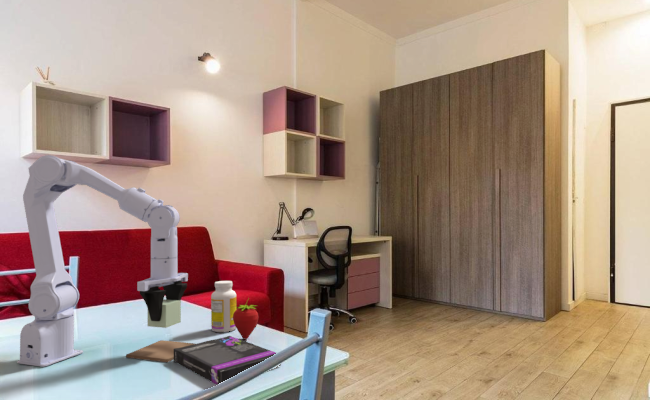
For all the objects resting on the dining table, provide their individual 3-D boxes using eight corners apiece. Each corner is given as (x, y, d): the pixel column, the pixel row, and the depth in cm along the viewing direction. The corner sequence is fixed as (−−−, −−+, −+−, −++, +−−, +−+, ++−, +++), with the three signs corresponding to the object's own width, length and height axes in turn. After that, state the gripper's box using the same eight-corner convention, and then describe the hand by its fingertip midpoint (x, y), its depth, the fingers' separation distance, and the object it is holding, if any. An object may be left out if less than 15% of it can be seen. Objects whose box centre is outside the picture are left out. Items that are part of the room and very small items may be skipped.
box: (281, 371, 84) (230, 348, 98) (281, 353, 84) (230, 333, 98) (219, 391, 74) (172, 362, 88) (219, 371, 75) (172, 345, 89)
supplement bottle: (234, 325, 117) (234, 279, 117) (238, 331, 111) (238, 282, 111) (209, 328, 114) (209, 281, 115) (213, 334, 108) (212, 284, 109)
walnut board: (167, 362, 88) (167, 359, 88) (126, 357, 91) (126, 354, 91) (199, 346, 98) (199, 344, 98) (161, 342, 101) (161, 340, 101)
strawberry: (248, 333, 108) (248, 294, 109) (263, 339, 103) (263, 299, 103) (228, 338, 105) (227, 297, 105) (242, 344, 99) (242, 302, 99)
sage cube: (166, 327, 92) (166, 304, 92) (147, 326, 93) (147, 303, 93) (180, 322, 96) (180, 300, 97) (162, 320, 98) (162, 299, 98)
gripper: (156, 261, 87) (156, 327, 87) (198, 255, 101) (198, 311, 100) (129, 260, 89) (129, 324, 89) (174, 254, 103) (174, 310, 103)
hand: (164, 317), depth 95 cm, fingers closed on sage cube, 5 cm apart
